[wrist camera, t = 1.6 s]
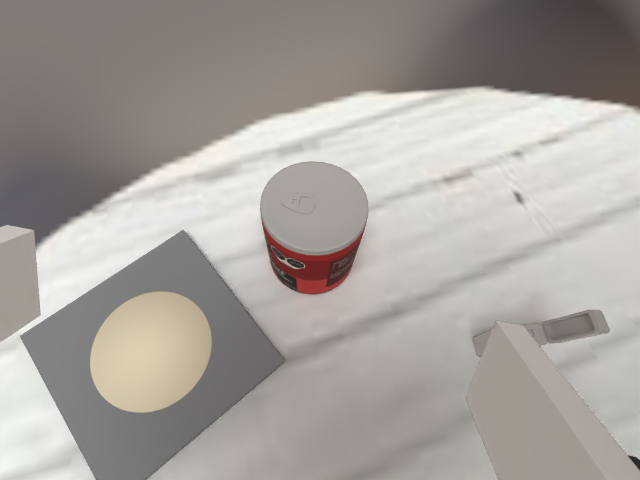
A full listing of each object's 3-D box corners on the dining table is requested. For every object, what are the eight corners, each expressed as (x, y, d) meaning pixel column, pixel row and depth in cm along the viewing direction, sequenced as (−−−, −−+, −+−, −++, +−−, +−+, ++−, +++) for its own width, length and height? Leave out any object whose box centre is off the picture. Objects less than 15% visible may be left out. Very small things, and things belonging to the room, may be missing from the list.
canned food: (267, 229, 39) (255, 164, 29) (344, 220, 39) (359, 155, 29) (274, 301, 36) (263, 258, 26) (357, 291, 36) (379, 245, 26)
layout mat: (186, 234, 38) (183, 229, 37) (284, 362, 33) (284, 360, 32) (27, 338, 33) (19, 335, 32) (116, 504, 29) (110, 507, 28)
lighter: (477, 356, 34) (524, 341, 27) (471, 337, 35) (516, 317, 28) (550, 347, 35) (616, 330, 28) (544, 329, 36) (606, 307, 28)
